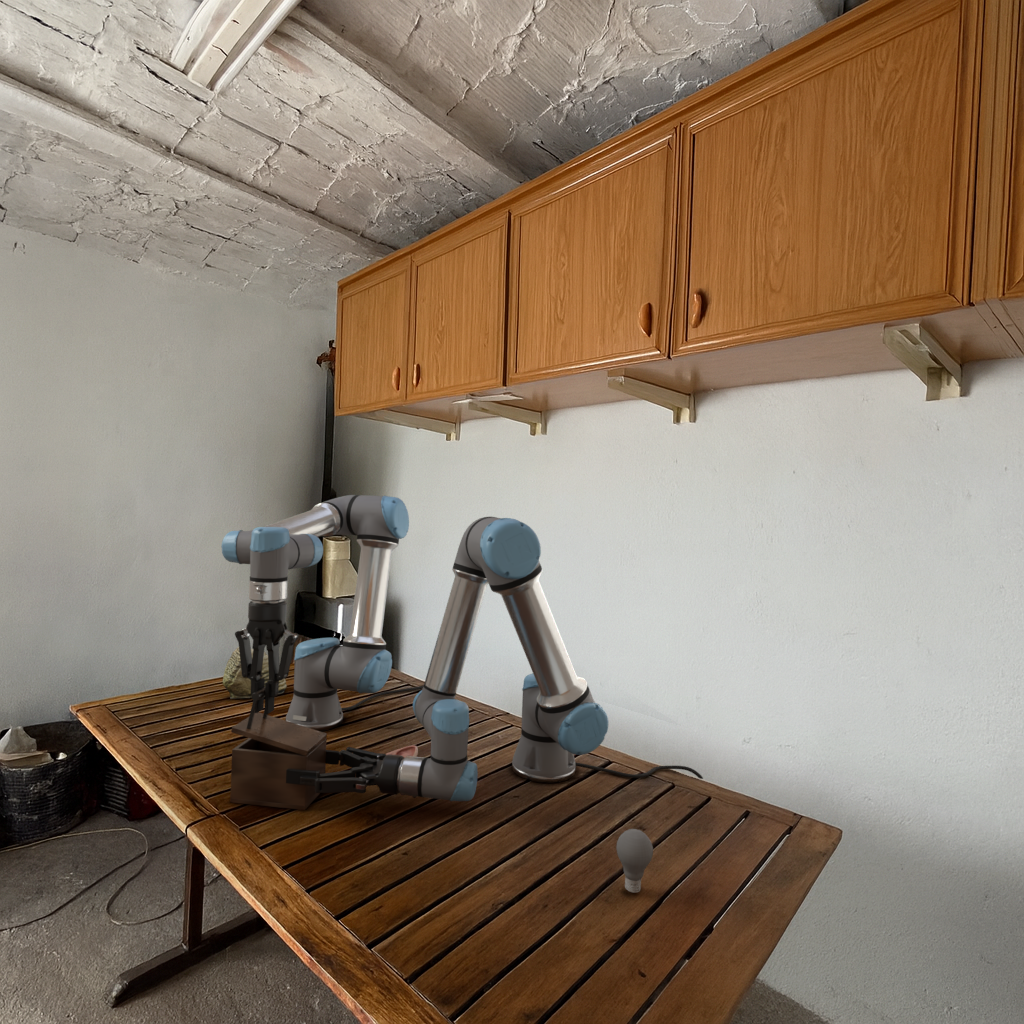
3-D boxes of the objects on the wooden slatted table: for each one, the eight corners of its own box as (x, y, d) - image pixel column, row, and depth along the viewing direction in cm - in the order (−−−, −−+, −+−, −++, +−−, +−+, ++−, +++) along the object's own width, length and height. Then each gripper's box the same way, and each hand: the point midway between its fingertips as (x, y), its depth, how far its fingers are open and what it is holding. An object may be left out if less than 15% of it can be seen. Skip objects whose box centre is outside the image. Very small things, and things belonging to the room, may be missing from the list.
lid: (230, 732, 129) (240, 690, 129) (255, 716, 139) (265, 677, 139) (306, 756, 128) (316, 714, 127) (326, 738, 137) (335, 699, 137)
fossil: (218, 695, 195) (220, 647, 195) (278, 685, 208) (279, 640, 207) (228, 703, 189) (230, 653, 188) (289, 692, 201) (290, 645, 201)
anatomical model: (351, 756, 145) (372, 738, 156) (350, 773, 145) (371, 754, 156) (406, 763, 142) (423, 744, 154) (405, 780, 143) (422, 760, 154)
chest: (230, 802, 130) (231, 749, 130) (255, 781, 139) (256, 732, 139) (304, 810, 128) (306, 756, 128) (324, 788, 138) (326, 738, 137)
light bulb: (610, 879, 108) (613, 822, 108) (644, 879, 109) (647, 822, 109) (619, 902, 102) (622, 840, 102) (655, 901, 103) (658, 840, 103)
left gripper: (224, 601, 130) (221, 714, 131) (292, 605, 129) (288, 720, 129) (244, 595, 138) (240, 702, 138) (309, 600, 136) (304, 708, 137)
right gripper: (383, 820, 119) (271, 808, 122) (415, 770, 142) (320, 761, 144) (385, 780, 119) (273, 769, 122) (417, 737, 141) (321, 728, 144)
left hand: (263, 711), depth 134 cm, fingers closed on lid, 2 cm apart
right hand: (298, 765), depth 133 cm, fingers closed on chest, 10 cm apart
